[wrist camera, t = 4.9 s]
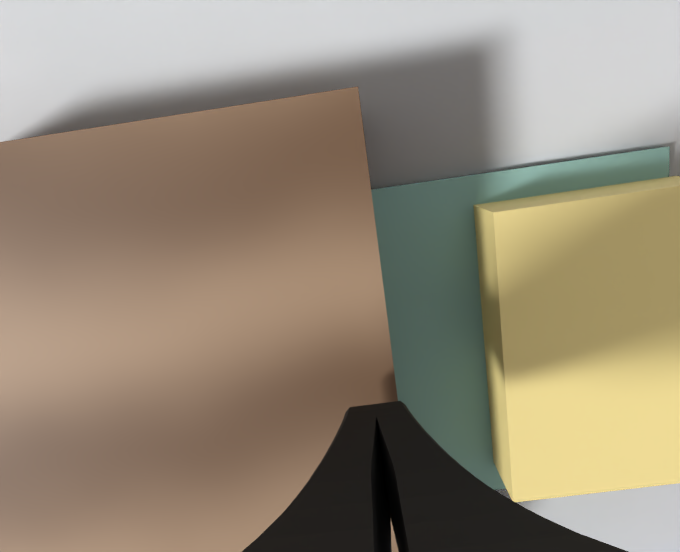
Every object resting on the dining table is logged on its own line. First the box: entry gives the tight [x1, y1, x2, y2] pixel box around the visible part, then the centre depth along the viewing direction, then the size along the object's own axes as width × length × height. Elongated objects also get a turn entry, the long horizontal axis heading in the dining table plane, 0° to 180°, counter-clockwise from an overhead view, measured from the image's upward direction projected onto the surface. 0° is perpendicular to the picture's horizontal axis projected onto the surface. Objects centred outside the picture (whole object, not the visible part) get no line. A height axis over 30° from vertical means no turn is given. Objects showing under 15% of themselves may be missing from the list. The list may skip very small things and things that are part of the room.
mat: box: [371, 147, 670, 490], centre depth 16 cm, size 11×9×1 cm
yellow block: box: [473, 176, 680, 502], centre depth 15 cm, size 9×6×2 cm, turn 8°
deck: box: [0, 87, 399, 552], centre depth 14 cm, size 16×12×4 cm
